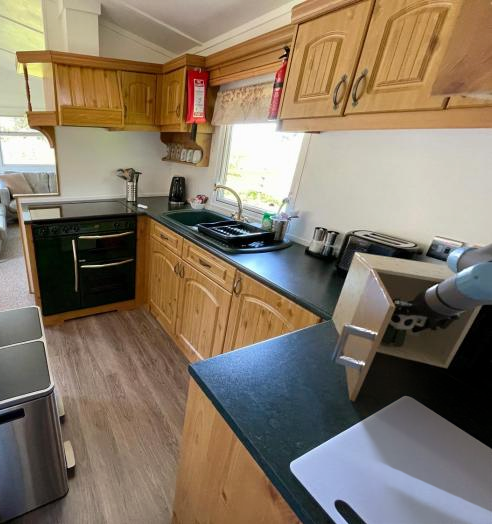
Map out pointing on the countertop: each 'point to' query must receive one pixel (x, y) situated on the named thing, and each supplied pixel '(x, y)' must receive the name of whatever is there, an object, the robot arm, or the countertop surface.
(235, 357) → the countertop surface
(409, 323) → the character mug
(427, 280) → the cupboard
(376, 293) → the cupboard door
